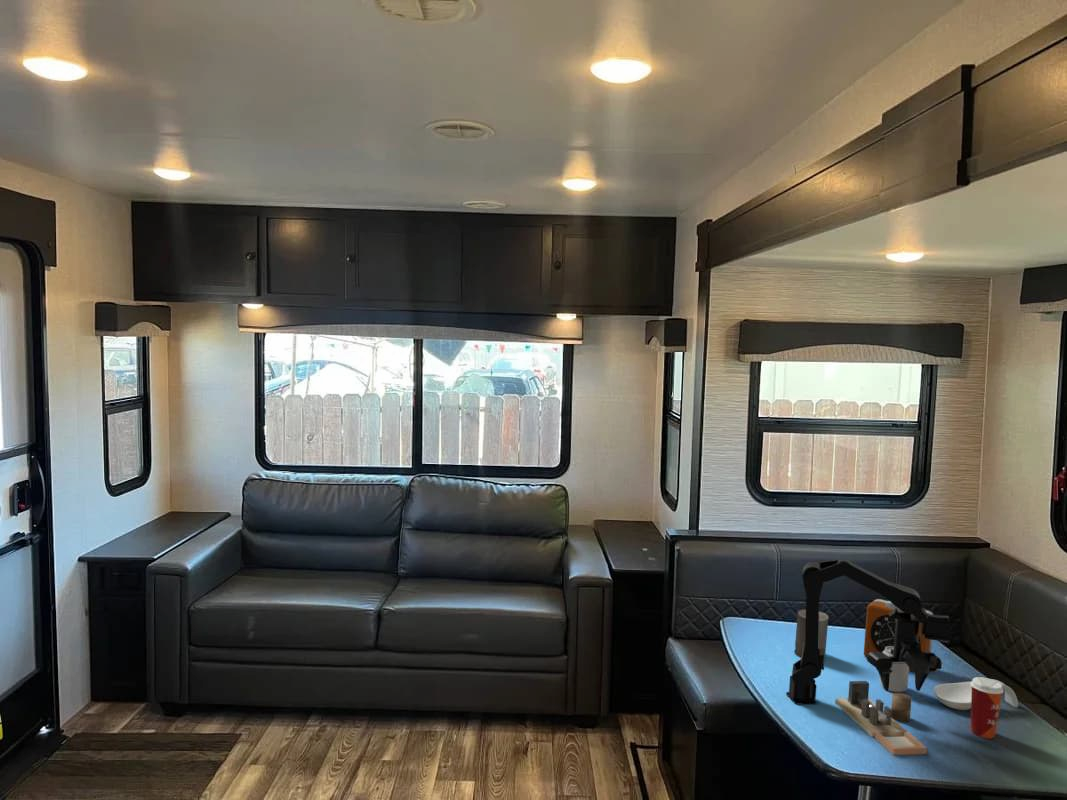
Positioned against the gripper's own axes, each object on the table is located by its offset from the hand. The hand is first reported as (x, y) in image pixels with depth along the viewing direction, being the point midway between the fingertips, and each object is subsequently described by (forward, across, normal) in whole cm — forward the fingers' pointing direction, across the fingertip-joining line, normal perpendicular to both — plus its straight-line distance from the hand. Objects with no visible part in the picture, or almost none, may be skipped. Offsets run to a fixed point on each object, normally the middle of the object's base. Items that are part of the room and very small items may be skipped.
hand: (901, 690), depth 214 cm
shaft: (+6, -9, 0) cm, 11 cm away
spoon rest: (+8, +27, +7) cm, 29 cm away
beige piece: (+8, -9, 0) cm, 12 cm away
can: (+8, +9, +18) cm, 22 cm away
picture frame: (+8, -9, -14) cm, 18 cm away
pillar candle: (+8, -5, +43) cm, 44 cm away
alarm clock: (+8, +21, +36) cm, 42 cm away
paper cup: (+8, +18, -9) cm, 22 cm away
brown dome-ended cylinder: (+8, 0, 0) cm, 8 cm away
